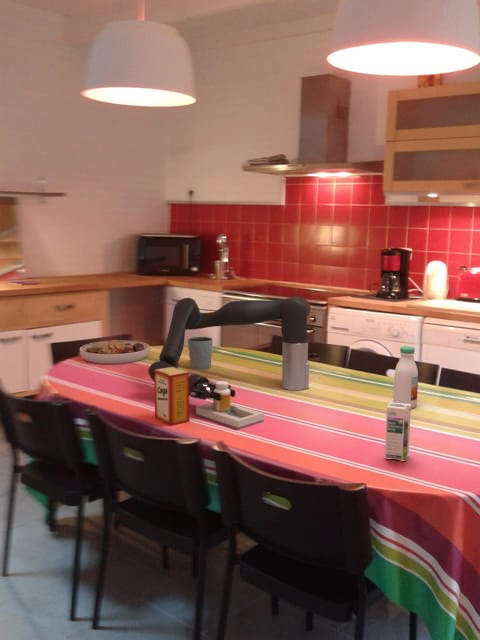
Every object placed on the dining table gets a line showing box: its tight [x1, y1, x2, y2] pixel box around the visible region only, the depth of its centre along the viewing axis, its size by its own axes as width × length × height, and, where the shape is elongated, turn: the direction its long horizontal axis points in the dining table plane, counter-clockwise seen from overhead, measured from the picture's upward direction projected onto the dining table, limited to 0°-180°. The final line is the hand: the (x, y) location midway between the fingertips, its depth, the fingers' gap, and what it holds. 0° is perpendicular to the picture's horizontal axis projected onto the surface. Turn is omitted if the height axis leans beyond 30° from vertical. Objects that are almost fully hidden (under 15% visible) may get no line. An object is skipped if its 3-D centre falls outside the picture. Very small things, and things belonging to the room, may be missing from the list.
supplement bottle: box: [212, 380, 231, 414], centre depth 212 cm, size 5×5×10 cm
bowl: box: [79, 339, 150, 365], centre depth 294 cm, size 30×30×8 cm
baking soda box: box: [153, 367, 190, 427], centre depth 208 cm, size 10×6×16 cm
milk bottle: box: [392, 345, 419, 409], centre depth 223 cm, size 8×8×20 cm
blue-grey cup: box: [187, 336, 213, 371], centre depth 276 cm, size 10×10×12 cm
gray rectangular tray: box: [195, 402, 264, 430], centre depth 211 cm, size 19×11×3 cm, turn 44°
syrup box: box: [384, 401, 412, 462], centre depth 178 cm, size 6×6×14 cm
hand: (227, 395), depth 210 cm, fingers closed on supplement bottle, 5 cm apart
